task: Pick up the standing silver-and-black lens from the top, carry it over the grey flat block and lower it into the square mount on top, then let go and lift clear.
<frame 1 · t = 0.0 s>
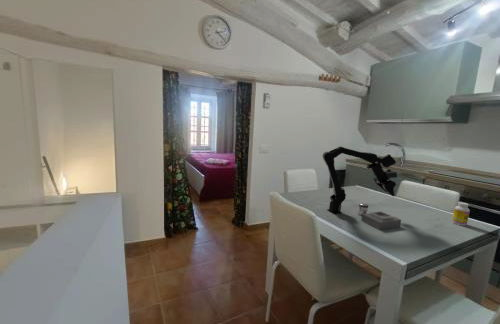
hand: (390, 193, 140), 15 cm above the table, tool tilted 35°, fingers open, 9 cm apart
lens: (362, 215, 143), on the table
grey flat block: (380, 223, 131), on the table
supplement bottle: (459, 224, 138), on the table
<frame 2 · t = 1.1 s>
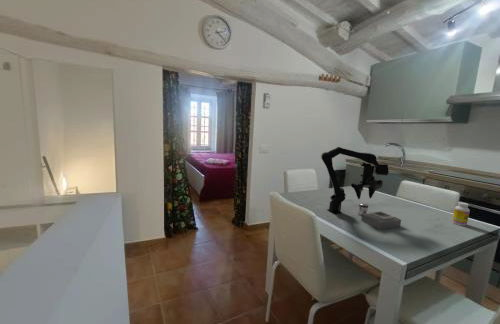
hand: (364, 198, 142), 11 cm above the table, tool pointing down, fingers open, 9 cm apart
nothing on the table moved.
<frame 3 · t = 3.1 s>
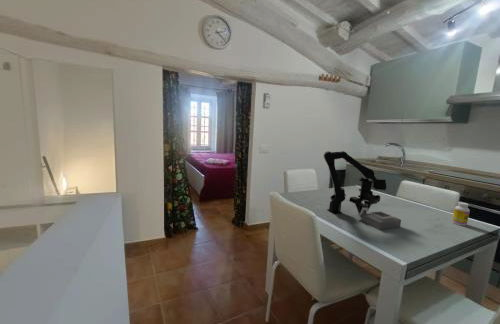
hand: (362, 212, 143), 2 cm above the table, tool pointing down, fingers closed on lens, 5 cm apart
lens: (362, 215, 143), on the table, touching gripper
everything else where it was.
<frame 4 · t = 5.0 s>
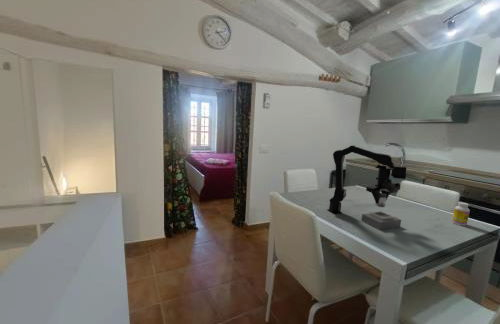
hand: (380, 203, 132), 11 cm above the table, tool pointing down, fingers closed on lens, 5 cm apart
lens: (380, 205, 132), point 10 cm above the table, touching gripper
everything else where it was.
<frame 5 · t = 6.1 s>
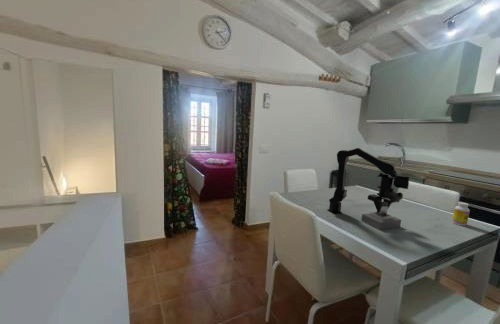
hand: (381, 212, 130), 7 cm above the table, tool pointing down, fingers closed on lens, 5 cm apart
lens: (381, 214, 131), point 5 cm above the table, touching gripper
everything else where it was.
when the fingers open (6 cm above the table, at t = 7.1 s): lens stays where it is, resting on grey flat block.
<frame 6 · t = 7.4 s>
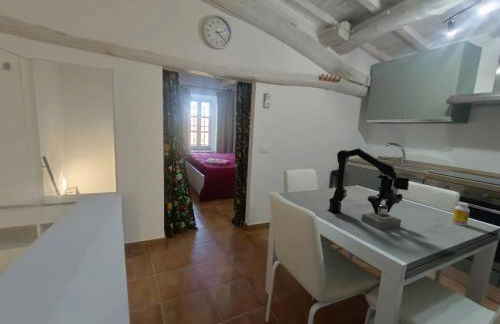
hand: (381, 213, 131), 6 cm above the table, tool pointing down, fingers open, 8 cm apart
lens: (381, 216, 131), point 4 cm above the table, touching grey flat block
everything else where it was.
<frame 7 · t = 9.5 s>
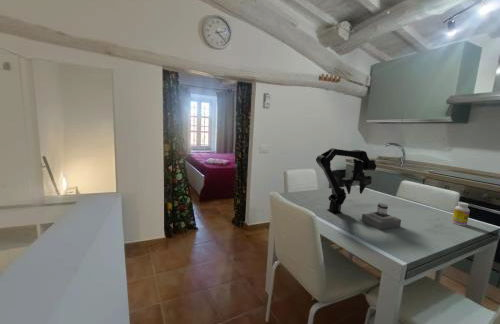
hand: (354, 193, 147), 12 cm above the table, tool pointing down, fingers open, 9 cm apart
nothing on the table moved.
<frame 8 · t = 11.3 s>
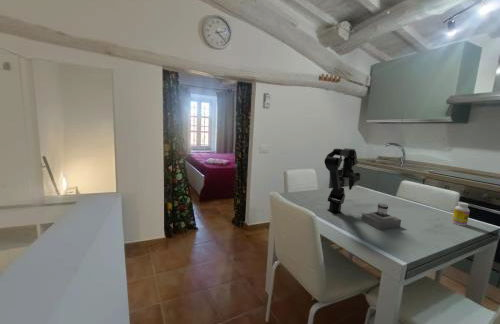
hand: (344, 190, 155), 12 cm above the table, tool pointing down, fingers open, 9 cm apart
nothing on the table moved.
at the end: lens 0.0 cm off-centre on the grey flat block, point 4.0 cm above the grey flat block's base; lens tilted 1°; the gripper is holding nothing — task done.
